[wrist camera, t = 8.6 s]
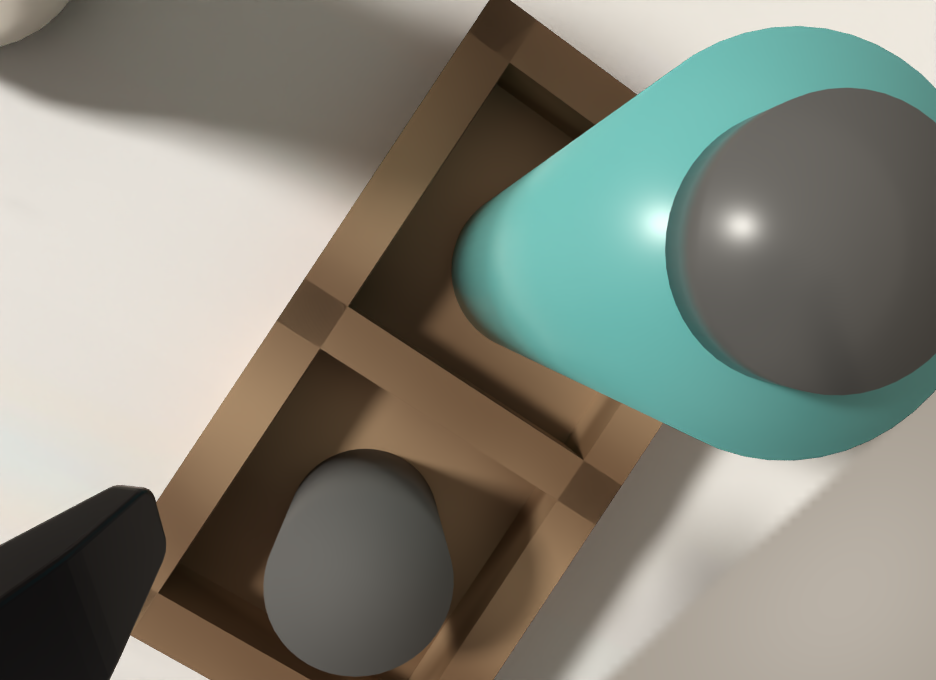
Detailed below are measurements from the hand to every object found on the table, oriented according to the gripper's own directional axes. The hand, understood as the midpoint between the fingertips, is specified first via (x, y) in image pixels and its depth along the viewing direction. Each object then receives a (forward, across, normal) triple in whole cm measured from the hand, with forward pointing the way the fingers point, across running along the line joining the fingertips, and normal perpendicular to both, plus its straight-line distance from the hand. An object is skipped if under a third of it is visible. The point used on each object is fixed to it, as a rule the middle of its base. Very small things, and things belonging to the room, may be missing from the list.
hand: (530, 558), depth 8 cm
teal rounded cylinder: (+13, +1, +2) cm, 13 cm away
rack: (+12, +3, +5) cm, 13 cm away
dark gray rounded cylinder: (+9, +5, +8) cm, 13 cm away
